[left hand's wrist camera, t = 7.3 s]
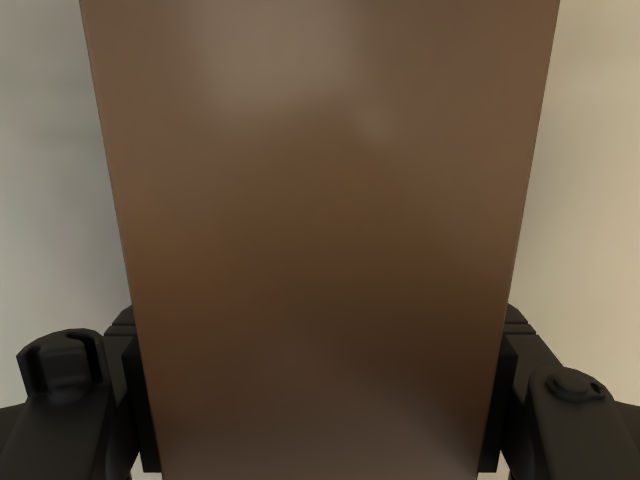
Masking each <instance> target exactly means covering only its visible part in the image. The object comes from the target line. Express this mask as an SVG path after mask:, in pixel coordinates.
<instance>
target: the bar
mask: <svg viewBox="0 0 640 480" xmlns="http://www.w3.org/2000/svg"><path fill="white" fill-rule="evenodd" d="M79 3H80V9H81V15H82V21H83V26H84V32H85V38H86V44H87V49H88V55H89V61H90V67H91V72H92V78H93V84H94V89H95V95H96V101H97V107H98V112H99V118H100V124H101V130H102V135H103V141H104V147H105V152H106V158H107V164H108V170H109V175H110V181H111V187H112V193H113V198H114V204H115V210H116V216H117V221H118V227H119V233H120V238H121V244H122V250H123V256H124V261H125V267H126V273H127V279H128V284H129V290H130V296H131V302H132V307H133V313H134V319H135V324H136V330H137V336H138V342H139V347H140V353H141V359H142V365H143V370H144V376H145V382H146V388H147V393H148V399H149V405H150V410H151V416H152V422H153V428H154V433H155V439H156V445H157V451H158V456H159V462H160V468H161V474H162V479H163V480H477V477H478V471H479V465H480V460H481V454H482V448H483V442H484V437H485V431H486V425H487V419H488V413H489V408H490V402H491V396H492V390H493V385H494V379H495V373H496V367H497V362H498V356H499V350H500V344H501V338H502V333H503V327H504V321H505V315H506V310H507V304H508V298H509V292H510V286H511V281H512V275H513V269H514V263H515V258H516V252H517V246H518V240H519V235H520V229H521V223H522V217H523V211H524V206H525V200H526V194H527V188H528V183H529V177H530V171H531V165H532V160H533V154H534V148H535V142H536V136H537V131H538V125H539V119H540V113H541V108H542V102H543V96H544V90H545V85H546V79H547V73H548V67H549V61H550V56H551V50H552V44H553V38H554V33H555V27H556V21H557V15H558V9H559V4H560V0H79Z"/></svg>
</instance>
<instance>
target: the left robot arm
mask: <svg viewBox="0 0 640 480" xmlns="http://www.w3.org/2000/svg"><path fill="white" fill-rule="evenodd" d="M16 358H17V362H18V365H19V368H20V372H21V375H22V378H23V382H24V385H25V389H26V392H27V395H28V397H27V399H26V402H25V403H22V404H19V405H15V406H10V407H5V408H0V480H132V477H131V472H130V471H131V468H132V466H133V464H134V462H135V460H136V458H137V455H138V453H139V452H140V457H141V462H142V467H143V472H144V473H161V468H160V462H159V456H158V451H157V445H156V439H155V433H154V428H153V422H152V416H151V410H150V405H149V399H148V393H147V388H146V382H145V376H144V370H143V365H142V359H141V353H140V347H139V342H138V336H137V330H136V324H135V319H134V313H133V307H132V305H131V306H129V307H127V308H126V309H124V310H123V311H122V312H121V313H120V314H119V315H118V317H117V318H116V319H115V320H114V322H113V323H112V326H110V327H109V328H108V329H107V330H106V332H105V333H104V336H102V335H100V334H99V333H98V332H97V331H94V330H90V329H85V328H79V329H67V330H62V331H58V332H53V333H51V334H48V335H45V336H43V337H40V338H38V339H36V340H35V341H33V342H31V343H30V344H28V345H27V346H25V347H24V348H23V349H22V350H21V351H20V352H19V353H18V354H17V356H16ZM500 450H501V452H502V454H503V456H504V458H505V460H506V462H507V464H508V467H509V469H510V472H509V477H508V480H640V406H635V405H630V404H625V403H621V402H618V401H614V399H613V396H612V395H611V394H610V392H609V391H608V390H607V388H606V387H605V386H604V385H603V384H601V383H600V382H599V381H597V380H596V379H594V378H593V377H591V376H589V375H587V374H585V373H583V372H580V371H578V370H575V369H571V368H567V367H563V365H562V364H561V363H560V362H559V360H558V359H557V358H556V357H555V355H554V354H553V353H552V351H551V350H550V349H549V348H548V346H547V345H546V344H545V343H544V341H543V340H542V339H541V338H540V336H539V335H536V331H535V330H534V329H533V328H532V326H531V325H530V324H528V321H527V320H526V319H525V318H524V316H523V315H522V314H521V313H520V311H519V310H518V309H517V308H515V307H513V306H512V305H510V304H509V303H508V304H507V310H506V315H505V321H504V327H503V333H502V338H501V344H500V350H499V356H498V362H497V367H496V373H495V379H494V385H493V390H492V396H491V402H490V408H489V413H488V419H487V425H486V431H485V437H484V442H483V448H482V454H481V460H480V465H479V471H478V473H496V471H497V465H498V460H499V455H500Z"/></svg>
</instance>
